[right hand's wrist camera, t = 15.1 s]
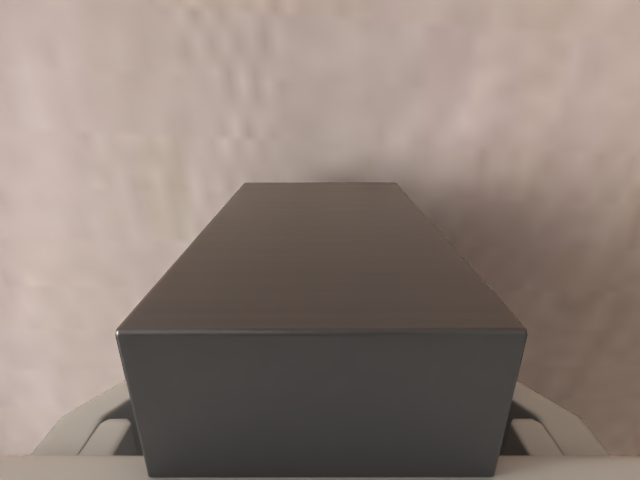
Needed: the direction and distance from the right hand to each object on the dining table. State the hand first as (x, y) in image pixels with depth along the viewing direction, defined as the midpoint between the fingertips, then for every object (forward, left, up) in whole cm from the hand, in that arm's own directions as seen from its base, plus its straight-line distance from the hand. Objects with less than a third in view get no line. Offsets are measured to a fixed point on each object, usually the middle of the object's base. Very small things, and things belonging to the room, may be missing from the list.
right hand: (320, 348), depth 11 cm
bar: (+8, -1, -3) cm, 8 cm away
